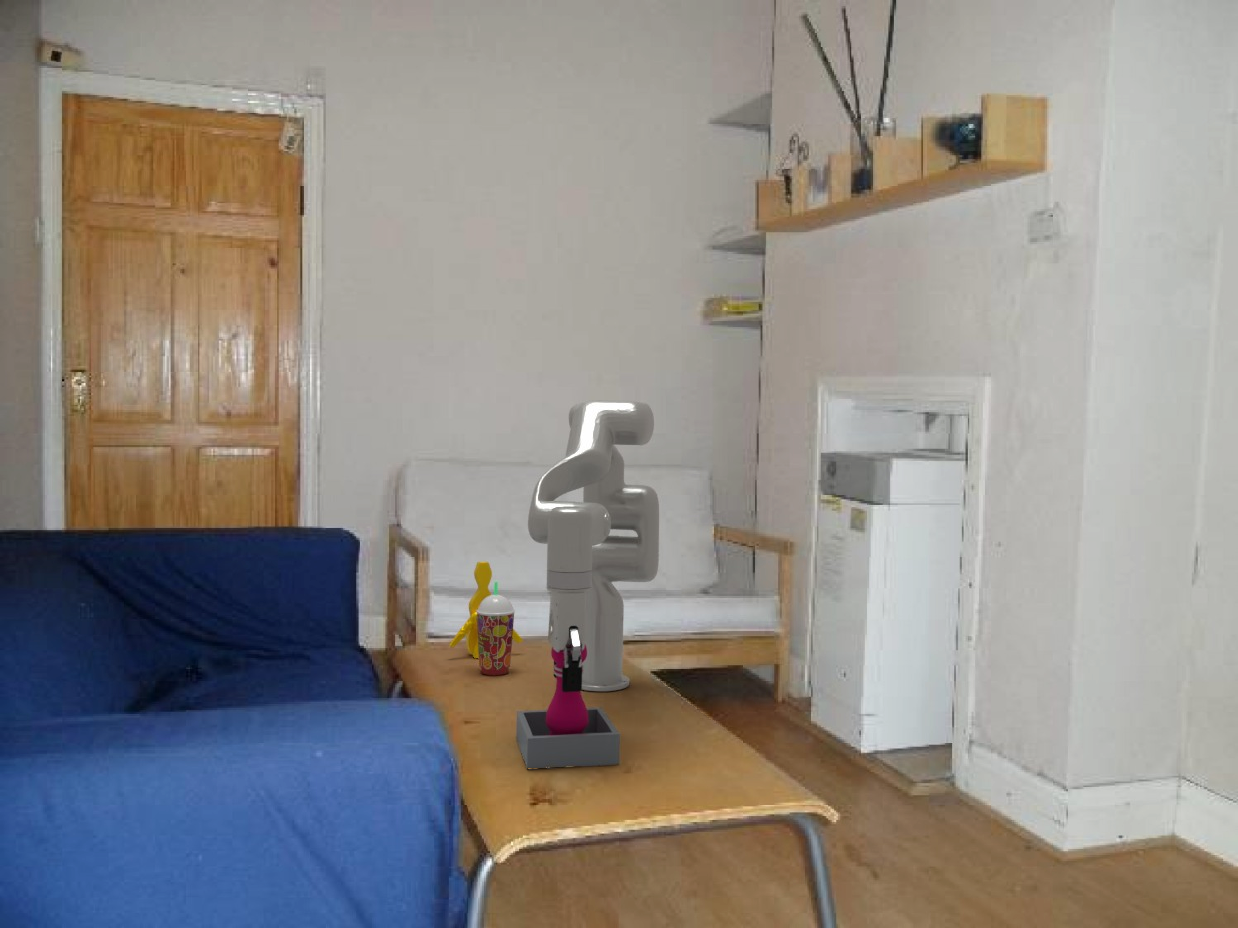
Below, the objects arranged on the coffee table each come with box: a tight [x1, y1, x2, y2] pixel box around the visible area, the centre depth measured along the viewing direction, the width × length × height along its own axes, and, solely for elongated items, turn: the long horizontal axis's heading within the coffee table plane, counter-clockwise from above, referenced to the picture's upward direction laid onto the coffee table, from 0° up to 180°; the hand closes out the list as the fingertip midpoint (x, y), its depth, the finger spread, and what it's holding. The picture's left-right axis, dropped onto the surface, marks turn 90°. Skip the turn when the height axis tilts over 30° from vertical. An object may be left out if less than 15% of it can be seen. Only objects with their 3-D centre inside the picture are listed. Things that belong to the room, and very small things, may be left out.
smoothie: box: [476, 581, 516, 676], centre depth 215 cm, size 8×8×20 cm
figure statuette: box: [448, 561, 524, 659], centre depth 231 cm, size 18×8×22 cm, turn 113°
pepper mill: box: [546, 636, 589, 735], centre depth 164 cm, size 7×7×20 cm
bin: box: [515, 707, 621, 769], centre depth 164 cm, size 15×15×5 cm
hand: (567, 683), depth 164 cm, fingers open, 8 cm apart
